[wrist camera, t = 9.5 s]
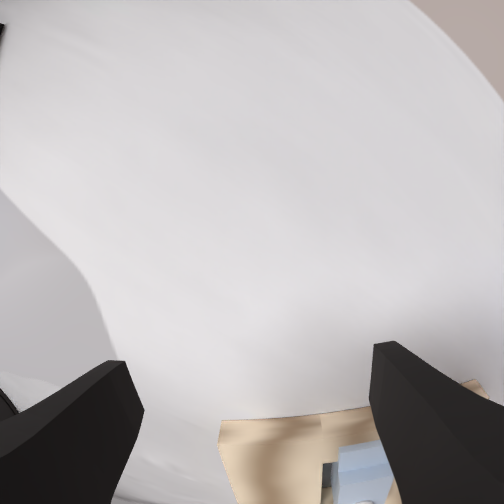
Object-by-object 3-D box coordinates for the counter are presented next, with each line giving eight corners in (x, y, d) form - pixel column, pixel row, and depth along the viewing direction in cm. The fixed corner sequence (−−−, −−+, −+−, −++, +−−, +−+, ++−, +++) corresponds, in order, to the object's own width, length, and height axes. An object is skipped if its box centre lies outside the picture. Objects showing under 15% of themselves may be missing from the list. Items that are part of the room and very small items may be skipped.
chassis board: (475, 379, 19) (489, 397, 17) (436, 475, 23) (443, 491, 20) (221, 420, 21) (217, 445, 18) (247, 505, 24) (246, 524, 22)
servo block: (385, 412, 20) (403, 460, 15) (369, 484, 23) (378, 523, 18) (333, 421, 20) (343, 473, 16) (329, 491, 23) (334, 532, 18)
